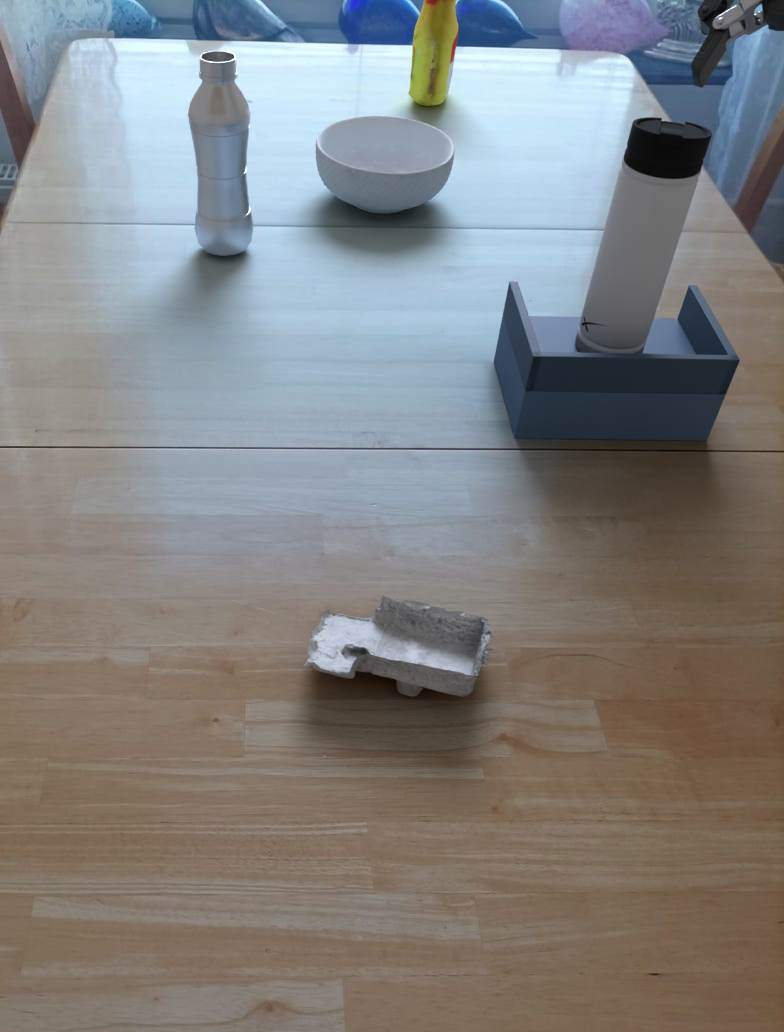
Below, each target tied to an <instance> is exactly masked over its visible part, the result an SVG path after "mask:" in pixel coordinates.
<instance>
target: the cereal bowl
mask: <svg viewBox="0 0 784 1032" xmlns="http://www.w3.org/2000/svg"><path fill="white" fill-rule="evenodd" d="M455 149H456V148H455V145H454V142H453V140H452V139H451V137H450V136H449V135H447V134H446V133H445V132H444V131H442V130H440V129H439V128H438V127H435V126H433V125H431V124H428V123H426V122H422V121H420V120H415V119H412V118H406V117H401V116H393V115H391V116H390V115H364V116H355V117H350V118H345V119H341V120H338V121H335V122H333V123H331V124H329V125H327V126H325V127H324V128H322V129H321V130H320V131H319V133H318V134H317V136H316V140H315V162H316V168H317V172H318V176H319V178H320V180H321V181H322V183H323V186H325V187H326V189H327V190H329V192H330V193H332V195H334V196H335V197H337V198H338V199H339V200H341V201H343V202H344V203H347V204H349V205H353V206H354V207H356V208H357V209H358V210H362V211H364V212H368V213H372V214H382V215H387V214H388V215H389V214H396V213H400V212H403V211H405V210H409V209H413V208H415V207H420V206H421V205H423V204H425V203H427V202H429V201H431V200H432V199H433V198H435V197H436V196H437V195H439V193H440V192H441V191H442V190H443V188H444V187H445V186H446V183H447V182H448V180H449V178H450V176H451V173H452V170H453V165H454V161H455V159H454V158H455V152H456V150H455Z"/></svg>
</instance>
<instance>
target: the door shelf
mask: <svg viewBox="0 0 784 1032" xmlns="http://www.w3.org/2000/svg"><path fill="white" fill-rule="evenodd" d="M503 306H504V308H503V312H502V317H501V322H500V328H499V332H498V337H497V342H496V343H497V344H496V347H495V352H494V357H493V363H494V367H495V370H496V374H497V379H498V382H499V385H500V386H499V387H500V389H501V392H502V397H503V400H504V404H505V408H506V411H507V415H508V419H509V423H510V426H511V430H512V434H513V438H514V439H552V440H553V439H557V440H558V439H559V440H561V439H562V440H618V441H619V440H620V441H621V440H623V441H624V440H627V441H688V442H691V441H692V442H693V441H694V442H696V441H697V442H702V441H703V442H707V441H708V440H709V437H710V435H711V432H712V430H713V427H714V425H715V422H716V420H717V417H718V415H719V412H720V410H721V407H722V405H723V402H724V400H725V397H726V395H727V393H728V391H729V388H730V386H731V383H732V380H733V378H734V376H735V374H736V371H737V369H738V367H739V364H740V361H741V359H740V357H739V356H738V354H737V352H736V350H735V349H734V347H733V345H732V343H731V342H730V340H729V338H728V337H727V335H726V333H725V331H724V330H723V328H722V326H721V324H720V323H719V321H718V319H717V318H716V315H715V314H714V312H713V310H712V308H710V305H709V303H708V302H707V300H706V298H705V296H704V295H703V293H702V292H701V290H700V288H699V286H698V285H696V284H688V286H687V289H686V293H685V295H684V298H683V301H682V304H681V307H680V310H679V314H678V315H677V318H655V317H654V319H653V322H652V325H651V328H650V331H649V334H648V337H647V341H646V344H645V347H644V350H643V353H642V354H635V353H581V352H580V351H579V350H578V348H577V347H576V343H575V338H576V335H577V331H578V327H579V324H580V319H581V316H550V315H549V316H548V315H547V316H545V315H544V316H543V315H529V312H528V309H527V306H526V303H525V300H524V298H523V294H522V291H521V288H520V285H519V282H518V281H508V286H507V291H506V296H505V301H504V305H503Z"/></svg>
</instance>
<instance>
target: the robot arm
mask: <svg viewBox="0 0 784 1032" xmlns="http://www.w3.org/2000/svg"><path fill="white" fill-rule="evenodd" d="M734 2H735V0H703V1H702V2H701V4H700V6H699V7H698V9H697V17H698V20H699V29H700V33H701V34H702V35H703V36H706V37H705V39H704V41H703V43H702V44H701V46H700V48H699V50H698V51H697V52H696V54H695V56H694V57H693V59H692V61H691V65H690V69H691V76H692V82H693V86H694V87H698V88H702V89H703V88H704V87H705V85H706V84H707V82H708V81H709V79H710V77H711V76H712V74H713V73H714V71H715V69H716V68H717V66H718V64H719V63H720V61H721V60H722V59H723V56H724V55H725V53H726V51H727V45H729V44H730V43H732V42H734V41H736V40H737V39H739V38H741V37H742V36H744V35H747V36H750V35H753V34H754V33H756V32H758V31H759V30H761V29H762V28H763V29H764V27H767V26H768V27H767V28H768V30H771V31H775V32H784V0H738V2H737V3H736V4H735V5H734V6H732V5H733V4H734ZM760 5H761V10H759V11H757V12H756V13H755V10H756V9H757V8H758V7H759V6H760ZM731 6H732V7H731Z"/></svg>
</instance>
